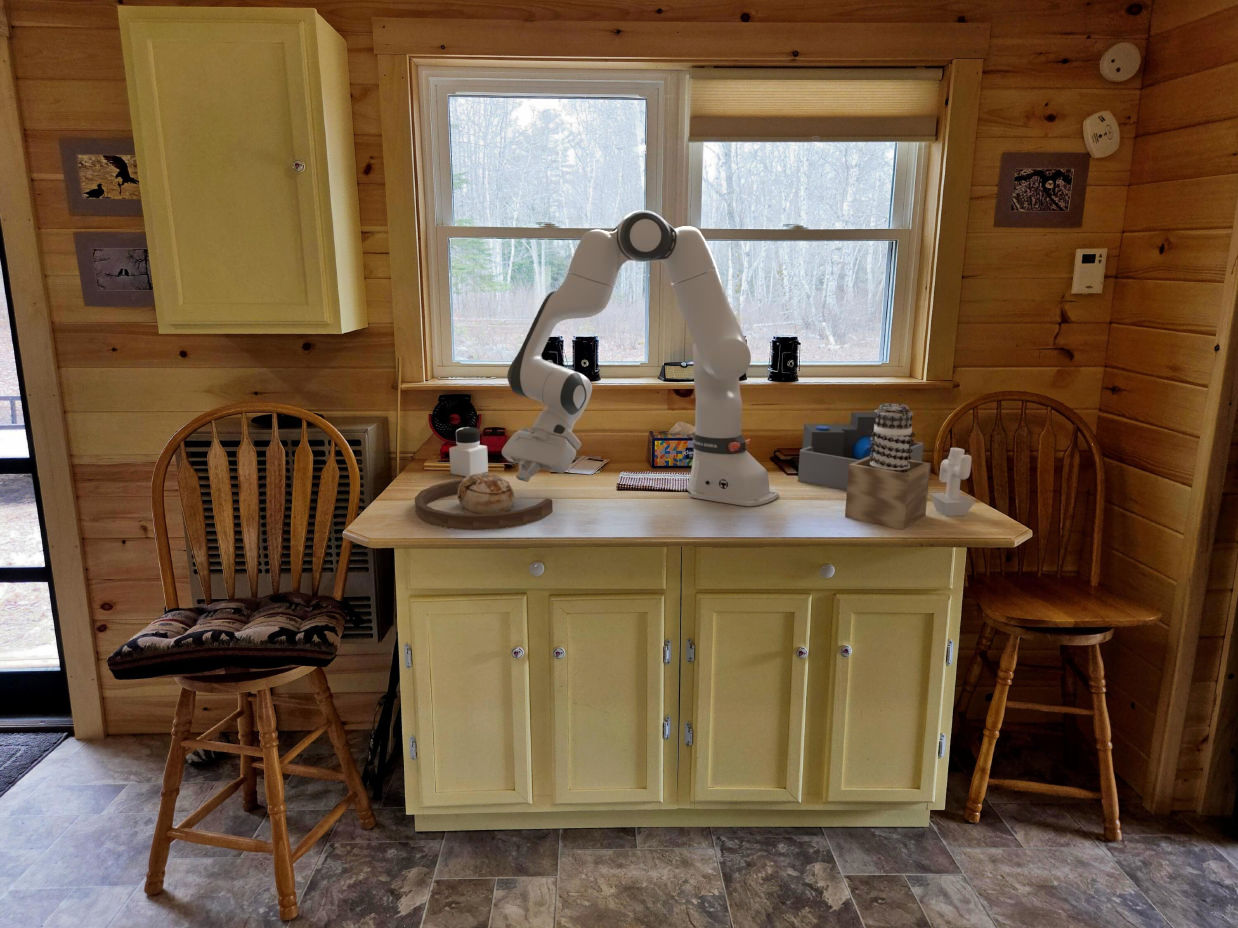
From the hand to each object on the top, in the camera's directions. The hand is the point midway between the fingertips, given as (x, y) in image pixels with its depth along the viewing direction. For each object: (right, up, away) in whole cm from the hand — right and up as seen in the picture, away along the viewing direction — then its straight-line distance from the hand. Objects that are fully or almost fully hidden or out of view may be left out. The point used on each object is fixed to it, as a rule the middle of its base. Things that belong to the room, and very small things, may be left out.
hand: (521, 479), depth 194 cm
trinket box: (-7, -7, -7) cm, 12 cm away
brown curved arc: (-10, -7, -9) cm, 15 cm away
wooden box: (+82, -8, -11) cm, 84 cm away
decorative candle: (+82, -8, -11) cm, 83 cm away
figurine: (+98, -8, -9) cm, 99 cm away
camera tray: (+86, 0, +21) cm, 89 cm away
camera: (+86, 0, +24) cm, 89 cm away
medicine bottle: (-16, +1, +23) cm, 29 cm away
